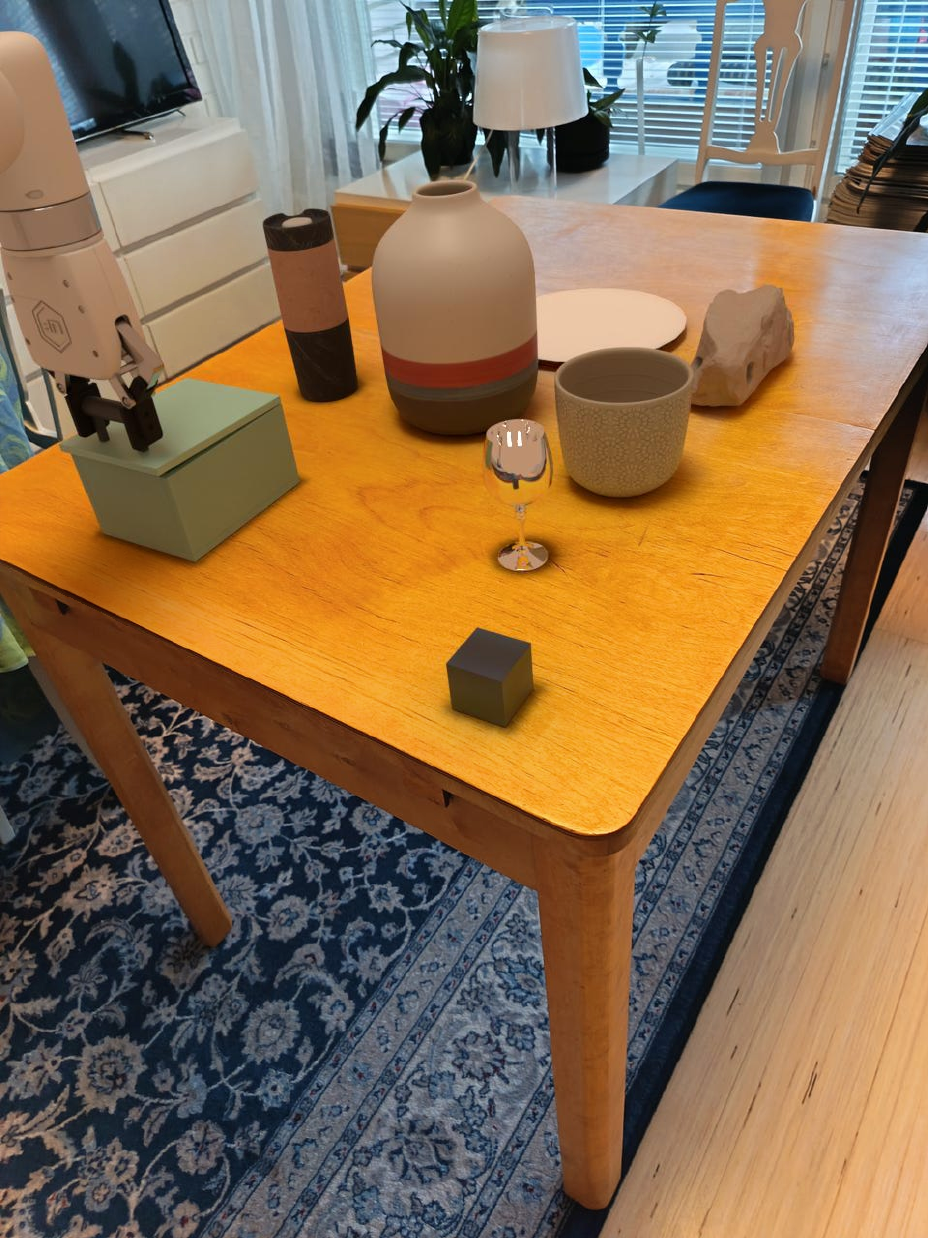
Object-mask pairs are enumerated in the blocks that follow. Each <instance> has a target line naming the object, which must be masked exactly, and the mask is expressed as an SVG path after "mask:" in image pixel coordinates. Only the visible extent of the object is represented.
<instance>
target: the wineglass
mask: <svg viewBox="0 0 928 1238" xmlns="http://www.w3.org/2000/svg"><path fill="white" fill-rule="evenodd" d="M483 445H484V446H483V452H482V467H481V468H482V469H481V470H482V478H483V482H484V486H485V488H486V491H487V492H488V494H489V495H490V496H491V497H492V498H493V499H494V500H495V501H496V502H497V503H499V504H502V505H505V506H508V507H513V508H514V511H513V514H514V517H515V519H516V523H517V527H518V541H516V542H512V543H509V544H507V545H505V546H504V547H502V548H501V549H500V550H499V552H498V554H497V561H498V564H499V565H501V566H502V567H503V568H504V569H507V570H510V571H514V572H515V571H516V572H528V571H533V570H536V569H538V568H540V567H542V566H543V565H544V564H545V563H546V562H547V561H548V559H549V551H548V549H547V548H546V546H544V545H542V544H540V543H538V542H534V541H526V538H525V521H526V517H527V507H526V506H530V505H533V504H535V503H537V502H539V501H540V500H542V498H544V496H545V495H546V494H547V493H548V492H549V490H550V488H551V485H552V481H553V476H554V463H553V455H552V451H551V446H550V443H549V439H548V435H547V433H546V430H545V428H544V426H543V425H542V424H540V422H536V421H534V420H531V419H523V418H522V419H521V418H515V419H514V420H507V421H503V422H500V423H498V424H495V425H494V426H492V427H491V428H490V429H489V430H488V431H486V435H485V439H484V444H483Z"/></svg>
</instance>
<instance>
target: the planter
mask: <svg viewBox="0 0 928 1238" xmlns="http://www.w3.org/2000/svg"><path fill="white" fill-rule="evenodd" d="M690 365H691V364H690V363H689V362H688V361H686V360H685V359H683V358H682V357H680V356H679V355H676V354H674V353H671V352H669V351H665V350H662V349H661V350H660V349H658V350H656V349H650V348H641V347H617V348H607V349H601V350H595V351H591V352H587V353H584V354H581V355H579V356H576V357H574V358H572V359H570V360H568V361H567V362H565V363H564V364H561V365H560V366H559V367H558V368H557V370H556V371H555V373H554V376H553V377H554V378H553V381H554V382H553V386H554V387H553V388H554V403H555V414H556V415H555V416H556V421H557V432H558V439H559V447H560V451H561V456H562V461H563V465H564V467H565V470H566V471H567V473H568V475H569V476H570V477H571V478H572V479H573V480H574V482H575V483H577V484H578V485H579V486H581V487H583V488H584V489H586V490H587V491H590V492H592V493H594V494H596V495H599V496H604V497H610V498H631V497H632V498H633V497H638V496H641V495H645V494H647V493H651V492H652V491H655V490H656V489H658V488H659V487H662V485H664V484H666V483H667V482H668V481H669V480H670V479H671V478H672V477H673V476H674V474H675V473H676V472H677V470H678V468H679V465H680V464H681V461H682V457H683V452H684V450H685V449H684V448H685V446H686V445H685V443H686V439H687V433H688V427H689V420H690V415H691V409H692V408H691V407H692V403H691V401H692V392H693V381H694V372H693V369H692V367H691V366H690Z"/></svg>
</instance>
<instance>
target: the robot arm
mask: <svg viewBox="0 0 928 1238" xmlns="http://www.w3.org/2000/svg"><path fill="white" fill-rule="evenodd" d="M53 69H54V68H53V66H52V63H51V61H50V58H49V55H48V52H47V51H46V49H45V47H44V45H43V43H41V41H40V40H39V38H37V37H36V36H35V35H33V34H31V33H27V32H25V31H19V30H18V31H16V30H7V31H0V258H1V265H2V269H3V273H4V274H3V275H4V278H5V282H6V286H7V290H8V293H9V297H10V300H11V304H12V307H13V310H14V313H15V316H16V320H17V322H18V325H19V328H20V331H21V334H22V337H23V340H24V342H25V346H26V348H27V350H28V353H29V355H30V357H31V360H32V361H33V362H34V363H35V364H36V365H37V366H38V367H41V368H42V369H44V370H45V371H46V372H47V373H48V374H49V375H50V376H51V377H52V378H53V379H54V382H55V387H56V390H57V392H58V393H60V394H61V395H64V396H63V398H64V400H65V403H66V405H67V408H68V411H69V413H70V416H71V419H72V422H73V424H74V427H75V430H76V432H77V434H78V435H79V436H80V437H84V438H87V437H89V436H91V435H92V434H94V433H96V429H95V426H94V423H93V420H92V417H91V416H88V415H86V414H84V412H83V411H82V408H81V403H82V400H83V399H84V397H86V396H88V395H92V396H97V397H101V398H103V397H102V395H101V392H100V389H99V386H98V383H97V382H92V381H91V380H95V381H108V382H109V384H110V385H111V388H112V389H113V391H114V392H115V394H116V395H117V397H118V399H119V401H120V402H122V404H123V405H124V406H123V407H121V408H119V411H120V414H121V417H122V420H123V423H124V426H125V429H126V432H127V435H128V438H129V441H130V444H131V446H132V448H133V450H136V451H141V450H143V449H144V448H146V447H148V446H150V445H151V444H153V443H155V442H156V441H158V440H160V439H161V438H162V437H163V431H162V428H161V424H160V421H159V418H158V415H157V412H156V409H155V405H154V402H153V399H152V397H153V396H154V395H155V394H156V388H157V385H158V384H159V379H160V377H161V375H162V373H163V371H164V369H165V363H164V361H163V359H161V358H160V357H159V355H158V354H157V353H156V352H155V351H154V350H153V349H152V348H151V346H150V345H148V344H147V340H146V336H145V333H144V329H143V325H142V323H141V319H140V317H139V314H138V311H137V308H136V305H135V302H134V300H133V297H132V295H131V292H130V289H129V287H128V284H127V281H126V279H125V276H124V275H123V272H122V270H121V267H120V264H119V263H118V260H117V259H116V256H115V254H114V252H113V250H112V248H111V245H110V244H109V242H108V240H107V238H104V237H105V233H104V230H103V226H102V223H101V221H100V216H99V213H98V211H97V208H96V204H95V202H94V201H95V200H94V197H93V195H92V191H91V188H90V186H89V182H88V179H87V176H86V172H85V169H84V166H83V163H82V160H81V159H82V158H81V156H80V153H79V149H78V147H77V144H76V143H77V142H76V140H75V137H74V134H73V130H72V127H71V124H70V120H69V117H68V114H67V111H66V107H65V105H64V102H63V98H62V96H61V91H60V89H59V86H58V82H57V79H56V75H55V73H54V70H53ZM122 361H123V362H124V363H125V364H124V365H122ZM128 373H129V374H130V376H131V377H132V381H131V383H130V384H129V386H128V385H127V383H126V381H125V380H124V378H123V376H124V375H125V374H128ZM103 420H104V423H105V426H106V427H107V426H108V425H109V424H110V420H105V419H103Z"/></svg>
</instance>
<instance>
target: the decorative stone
mask: <svg viewBox="0 0 928 1238" xmlns="http://www.w3.org/2000/svg"><path fill="white" fill-rule="evenodd" d="M783 291H784V289H783V287H777V286H776V285H775V284H764V285H762V286H760V287H757V288H755V289H753V290H747V291H746V292H740V293H739V292H737V291H736V290H733V289H729V288H727V289H724V290H721V291H719V292H718V293H717V294H716V295H715V296H714V298H713V300H712V302H710V303H709V305H708V307H707V309H706V312H705V315H704V320H703V324H702V330H701V334H700V338H699V342H698V345H697V349H696V351H695V352H696V353H695V355H694V357H693V360H692V361H691V363H690V364H689V365H690V366H691V367H692V369H693V372H694V381H693V392H692V401H691V405H696V406H710V407H722V406H723V407H724V406H728V407H739V406H741V405H743V404H744V403H745V402H746V401H747V400H748V398H750V396H751V395H752V394H753V393H754V392H755V391H756V390H757V388H758V387H759V385H760V383H761V382H762V381H763V380H764V379H765V378H766V376H767V375H768V374H769V372H770V371H772V370H773V369H774V368H775V367H778V366H779V365H781V363H783V362H784V361H785V360H786V359H787V358H788V357H789V356H790V354H791V353H792V349H793V348H794V347H793V346H794V344H795V323H794V319H793V316H792V315H793V314H792V312H791V311H790V309H789V308H788V306H787V304H786V299H785V295H784V293H783Z"/></svg>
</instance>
